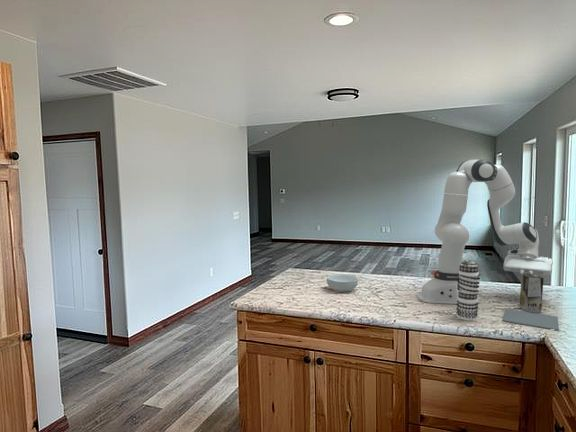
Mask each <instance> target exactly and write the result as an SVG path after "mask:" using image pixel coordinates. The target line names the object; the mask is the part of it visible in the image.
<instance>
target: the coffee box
mask: <svg viewBox="0 0 576 432" xmlns="http://www.w3.org/2000/svg"><path fill="white" fill-rule="evenodd" d="M543 292H544V277H542V276H541V275H540V274H529V273H524V274H523V273H521V272H520V293H519V294H520V295H519V307H520V308H521V309H522V310H524V311H525V312H531V313H538V314H542V309H543V306H542V305H543V294H544V293H543Z"/></svg>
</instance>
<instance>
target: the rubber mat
mask: <svg viewBox="0 0 576 432" xmlns="http://www.w3.org/2000/svg"><path fill="white" fill-rule="evenodd" d="M501 321H502V322H504V323H509V324H515V325H522V326H525V327H526V326H527V327H532V328H540V329H544V328H545V330H550V329H555V330H554V331H556V330H559V331H560V326H559V318H558V316H557V315H550V314H543V313H536V312H527V311H525V310H524V311H523V310H517V309H513V308H512V309H510V308H504V313H503V316H502V320H501Z"/></svg>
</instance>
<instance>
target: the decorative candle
mask: <svg viewBox="0 0 576 432" xmlns="http://www.w3.org/2000/svg"><path fill="white" fill-rule="evenodd" d="M459 264H460V267H459V268H460V269H459V275H458V276H457V278H458V279H457V282H458V284H457V286H458V287H457V290H458V291H459V293H458V294H459V295H458V300H457V302H458V303H457V304H456V316H455V317H457V318H458V319H460V320H463V321H477V320H478V316H479V310H478V309H479V302H478V301H479V300H478V294H479V292H480V290H479V289H478V288H480V282H479V281H480V279H481V278H480V276H481V274H480V273H479V267H480V264H478V262H477V261H476V260H472V259H462V261H461V263H459Z"/></svg>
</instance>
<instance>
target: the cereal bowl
mask: <svg viewBox="0 0 576 432" xmlns="http://www.w3.org/2000/svg"><path fill="white" fill-rule="evenodd" d="M358 283H359V278H358V277H357V276H355V275H352V274H347V273H346V274H345V273H335V274H330V275H328V276H327V277H326V284H327V286H328V287H329V288H330V289H332V290H334V291H335V292H339V293H347V292H349V291H352V290H354V289H356V287H357V286H358Z"/></svg>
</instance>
